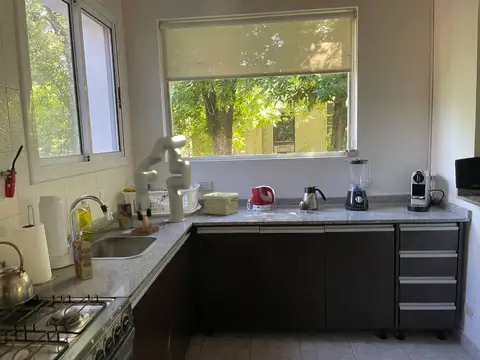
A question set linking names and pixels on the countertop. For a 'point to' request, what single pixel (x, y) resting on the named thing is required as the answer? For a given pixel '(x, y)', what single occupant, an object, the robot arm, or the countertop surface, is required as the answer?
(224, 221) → the countertop surface
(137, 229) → the hole block
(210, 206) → the storage basket
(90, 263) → the candy box
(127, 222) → the coffee box
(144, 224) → the peg
